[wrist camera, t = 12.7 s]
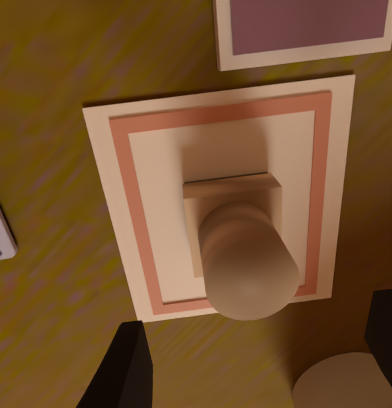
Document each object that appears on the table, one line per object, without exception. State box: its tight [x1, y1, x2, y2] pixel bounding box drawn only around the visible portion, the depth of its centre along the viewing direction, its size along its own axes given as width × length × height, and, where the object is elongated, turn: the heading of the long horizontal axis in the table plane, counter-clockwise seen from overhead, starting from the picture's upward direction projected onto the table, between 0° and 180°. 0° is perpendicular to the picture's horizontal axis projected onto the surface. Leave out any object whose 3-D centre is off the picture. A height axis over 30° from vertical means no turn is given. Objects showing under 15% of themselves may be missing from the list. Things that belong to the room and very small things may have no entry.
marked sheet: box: [82, 75, 355, 322], centre depth 19 cm, size 14×15×1 cm
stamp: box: [182, 172, 300, 320], centre depth 16 cm, size 5×5×6 cm
